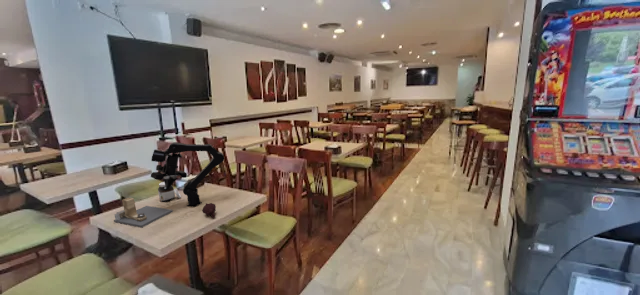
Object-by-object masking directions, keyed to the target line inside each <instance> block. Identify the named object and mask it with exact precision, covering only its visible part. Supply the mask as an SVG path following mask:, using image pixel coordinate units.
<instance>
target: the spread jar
mask: <svg viewBox="0 0 640 295" xmlns="http://www.w3.org/2000/svg"><path fill="white" fill-rule="evenodd" d="M157 192H158V193H157V194H158V197H159V198H158V199H159V200H160V201H161V202H162V203H165V202H170V200H171V201H173V200H174V199H175V198H176V197H177V198H178V199H180V198H182V196H181V194H180V191H179V190H178V189H177V188H174V186H173V184H172V185H171V186H170V188H169V189H166V187H165V182H164V181H162V182H160V183H159V184H158V188H157Z"/></svg>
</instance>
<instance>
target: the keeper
mask: <svg viewBox="0 0 640 295" xmlns="http://www.w3.org/2000/svg"><path fill="white" fill-rule="evenodd" d="M123 214H125V211H124V209H123V210H120V211H118V212H116V213H114V214H113V215H114V220H115V219H116V220H122V219H123ZM137 216H138V218H140V217H143V216H145V215H144V213H141V214H138V215H137Z"/></svg>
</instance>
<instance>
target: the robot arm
mask: <svg viewBox="0 0 640 295" xmlns="http://www.w3.org/2000/svg"><path fill="white" fill-rule="evenodd" d="M184 152H208V154H210V155H211V160H210V161H209V162H208V163H207V165H205V166H204V168H202V170H201V171H200V172H199V173H198V174H197V175H196V176H195V177H194V178H193V179H191V180H190V179H188V180H187V181H186V182H185V183H184V185H183V190H182V191H183V194H184V195H185V196H186V198H187V204H186V207H189V208H190V207H192V208H195V207H198V206H199V205H201V204H203V202H202V201H201V200H200V194H198V193H199V190H198V188H197V187H198V186H199V184H200V183H201V182H202V181H203V180H204V179H205V178H206V177H207V175H209V174H210V173H211V171H212V170H213V169H214V168H215V167H217V166H219V165H221V164H222V163H223V162H224V161H225V156H224V153H222V152H221V151H218V149H216V148H215V147H213V145H212V144H197V143H196V144H194V143H193V144H192V143H191V144H187V143H182V142H178V141H177V142H176V141H175V142H171V143H170V144H169V146H168V148H167V149H165V150H159V149H154V150H153V152H152V156H151V162H156V163H157V162H158V163H163V162H165V161H166V162H165V163H164V164H163V166H162V165H161V164H157V165H156V168H155V170H156V171H155V172H154V171H153V172H151V174H150V178H152V179H154V180H157V181H158V180H163V182H165V187H166V189H169V188H170V186H171V185H172V186H173V184H174V182H176V180H178V178H177V177H180V178H183V179H185V178H188V174H187V172H185V171H184V170H177V169H179V166H178V162H179V158H180V159H182V158H183V155H182V154H181V153H184Z"/></svg>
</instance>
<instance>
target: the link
mask: <svg viewBox="0 0 640 295" xmlns="http://www.w3.org/2000/svg"><path fill="white" fill-rule="evenodd" d="M121 201H122V202H121V203H122V207H123V210H124V211H125V214H123V217H127V218H131V219H135V220H137V221H143V220H145V219H147V217H146V215H145V216H143V217H140V218H138V216H137V215H138V214H137V212H136V210H137V207H136V203H135V198H132V197H126V198H123V199H122V200H121Z"/></svg>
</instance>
